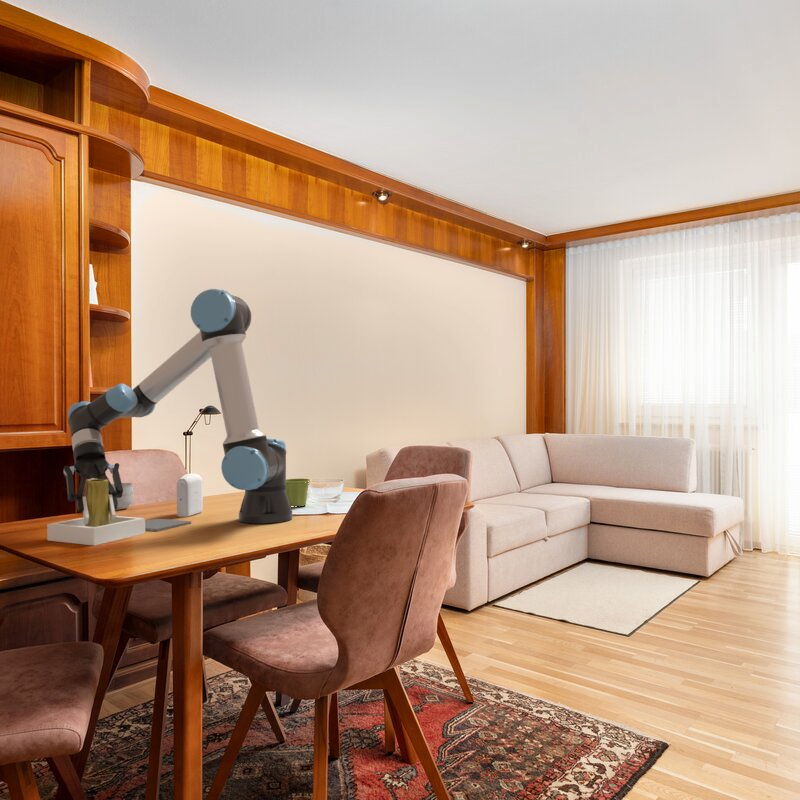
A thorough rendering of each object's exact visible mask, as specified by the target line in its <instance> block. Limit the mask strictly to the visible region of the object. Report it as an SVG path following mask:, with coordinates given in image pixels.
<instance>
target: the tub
mask: <svg viewBox="0 0 800 800" xmlns="http://www.w3.org/2000/svg"><path fill="white" fill-rule="evenodd" d="M109 520H110V524H108V525H103V526H98V527H88V526H85V524H84V517H79V518H73V519H68V520H61V521H57V522H51V523H47V524H46V525H47V529H46V530H47V531H46V532H47V533H46V535H47V538H46V540H47V541H50V542H51V541H52V542H59V543H67V544H77V545H78V544H79V545H87V546H98V545H102V544H106V543H111V542H116V541H120V540H125V539H128V538H133V537H138V536H141V535H145V534H146V530H145V521H146V518H145V517H135V516H121V515H116V516H115V520H114V522H111V519H110V514H109Z"/></svg>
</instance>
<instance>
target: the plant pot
mask: <svg viewBox="0 0 800 800" xmlns="http://www.w3.org/2000/svg"><path fill="white" fill-rule="evenodd" d="M310 480H311V479H310V478H286V494H287V497H288V500H289V503H290V506H299V507H300V506H304V505H306V506H307V502H308V501H307V499H308V492H307V491H309V486H308V485H310V482H311V481H310ZM308 481H309V482H308ZM305 482H306V483H305ZM308 483H309V484H308ZM304 507H305V506H304Z"/></svg>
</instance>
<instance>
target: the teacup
mask: <svg viewBox="0 0 800 800" xmlns="http://www.w3.org/2000/svg"><path fill="white" fill-rule="evenodd" d="M121 483H122V487H123V494H122V497H121V498H117V502H118V506H117V509H115V511H118V510H124V509H125V510H126V509H127V508H129V507H130V505H131V504H132V503H133V502H134V483H133V482H121ZM111 484H112V486H113V488H114V489H115V486H114V483H111ZM115 491H116V490H115Z"/></svg>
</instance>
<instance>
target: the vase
mask: <svg viewBox="0 0 800 800" xmlns="http://www.w3.org/2000/svg"><path fill="white" fill-rule="evenodd" d="M108 479H109V478H108ZM108 479H94V478H92V479H87V480H86V484H85V496H86V500H87V506H88V513H89V521H88V524H85V526H88V527H98V526H103V525H108V524H110V520H109V515H110V513H109V488H108Z"/></svg>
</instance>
